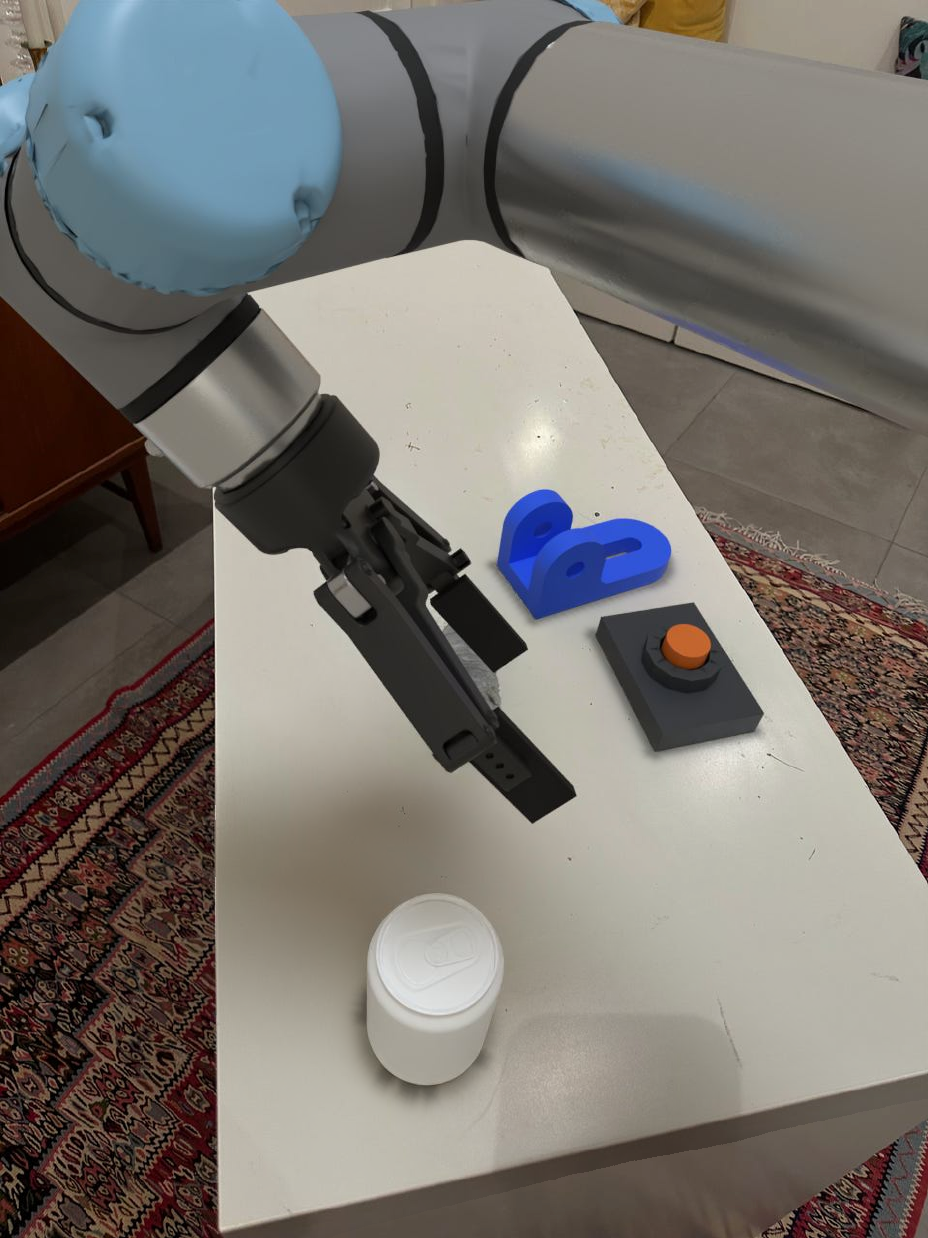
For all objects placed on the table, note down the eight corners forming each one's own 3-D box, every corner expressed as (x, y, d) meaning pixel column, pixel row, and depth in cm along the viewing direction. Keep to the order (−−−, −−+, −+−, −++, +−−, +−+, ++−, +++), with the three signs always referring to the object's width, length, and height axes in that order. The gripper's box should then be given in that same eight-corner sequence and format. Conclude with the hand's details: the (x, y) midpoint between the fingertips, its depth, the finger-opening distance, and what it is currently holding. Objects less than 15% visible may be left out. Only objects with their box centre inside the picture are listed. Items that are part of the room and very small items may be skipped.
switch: (713, 666, 78) (718, 653, 77) (673, 673, 77) (678, 660, 76) (693, 633, 81) (698, 620, 79) (654, 640, 80) (659, 627, 78)
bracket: (535, 619, 86) (549, 552, 79) (496, 565, 91) (507, 498, 84) (681, 573, 92) (705, 507, 86) (637, 525, 97) (657, 459, 91)
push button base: (754, 731, 78) (771, 700, 75) (654, 751, 76) (668, 721, 73) (686, 620, 87) (699, 589, 84) (595, 635, 85) (604, 603, 82)
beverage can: (352, 985, 60) (350, 909, 51) (461, 948, 63) (476, 868, 54) (387, 1108, 55) (392, 1046, 46) (504, 1062, 58) (529, 995, 49)
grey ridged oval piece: (497, 611, 82) (491, 578, 75) (506, 753, 77) (500, 733, 70) (431, 616, 83) (418, 584, 75) (435, 757, 78) (421, 738, 70)
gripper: (236, 411, 51) (453, 644, 61) (153, 627, 29) (510, 933, 39) (333, 329, 49) (541, 582, 59) (321, 495, 28) (650, 850, 38)
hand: (529, 723), depth 49 cm, fingers open, 13 cm apart
